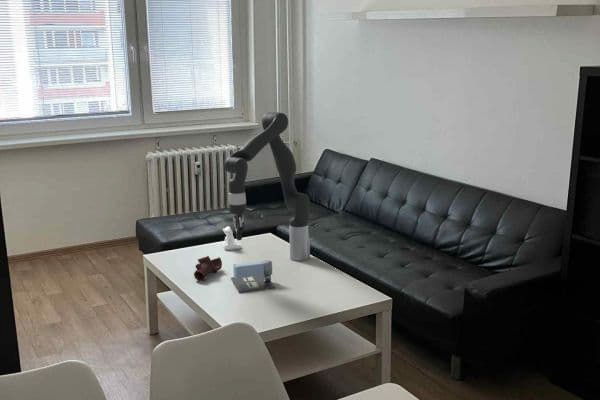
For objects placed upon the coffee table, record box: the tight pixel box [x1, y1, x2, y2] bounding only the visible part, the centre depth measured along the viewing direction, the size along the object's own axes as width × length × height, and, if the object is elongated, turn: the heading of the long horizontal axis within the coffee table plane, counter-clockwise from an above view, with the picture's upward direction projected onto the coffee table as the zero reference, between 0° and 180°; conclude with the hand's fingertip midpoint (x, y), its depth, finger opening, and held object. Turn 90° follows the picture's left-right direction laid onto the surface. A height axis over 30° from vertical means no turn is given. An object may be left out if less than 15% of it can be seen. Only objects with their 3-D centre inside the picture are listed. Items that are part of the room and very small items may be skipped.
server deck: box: [230, 274, 276, 294], centre depth 309 cm, size 16×18×4 cm
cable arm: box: [233, 259, 273, 279], centre depth 308 cm, size 17×5×6 cm, turn 107°
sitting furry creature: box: [222, 226, 243, 251], centre depth 360 cm, size 10×9×12 cm
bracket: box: [193, 255, 223, 282], centre depth 321 cm, size 6×17×10 cm, turn 159°
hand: (239, 239), depth 309 cm, fingers closed
